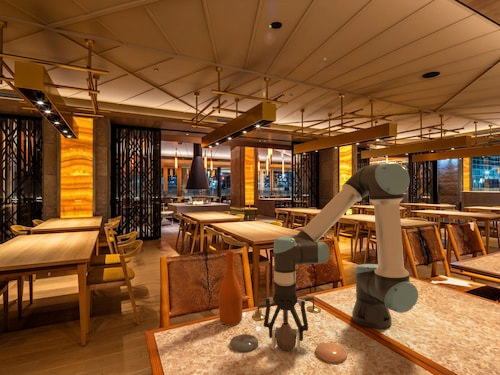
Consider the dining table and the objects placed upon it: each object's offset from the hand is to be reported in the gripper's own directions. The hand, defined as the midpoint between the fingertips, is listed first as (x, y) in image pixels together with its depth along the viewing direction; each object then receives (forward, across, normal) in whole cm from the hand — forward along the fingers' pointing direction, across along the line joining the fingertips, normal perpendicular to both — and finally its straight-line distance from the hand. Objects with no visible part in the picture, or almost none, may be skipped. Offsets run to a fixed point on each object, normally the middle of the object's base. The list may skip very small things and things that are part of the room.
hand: (286, 348), depth 97 cm
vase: (+1, 0, 0) cm, 1 cm away
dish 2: (0, -15, 0) cm, 15 cm away
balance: (0, +1, -9) cm, 9 cm away
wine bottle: (+1, +25, -16) cm, 30 cm away
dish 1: (0, +15, 0) cm, 15 cm away
